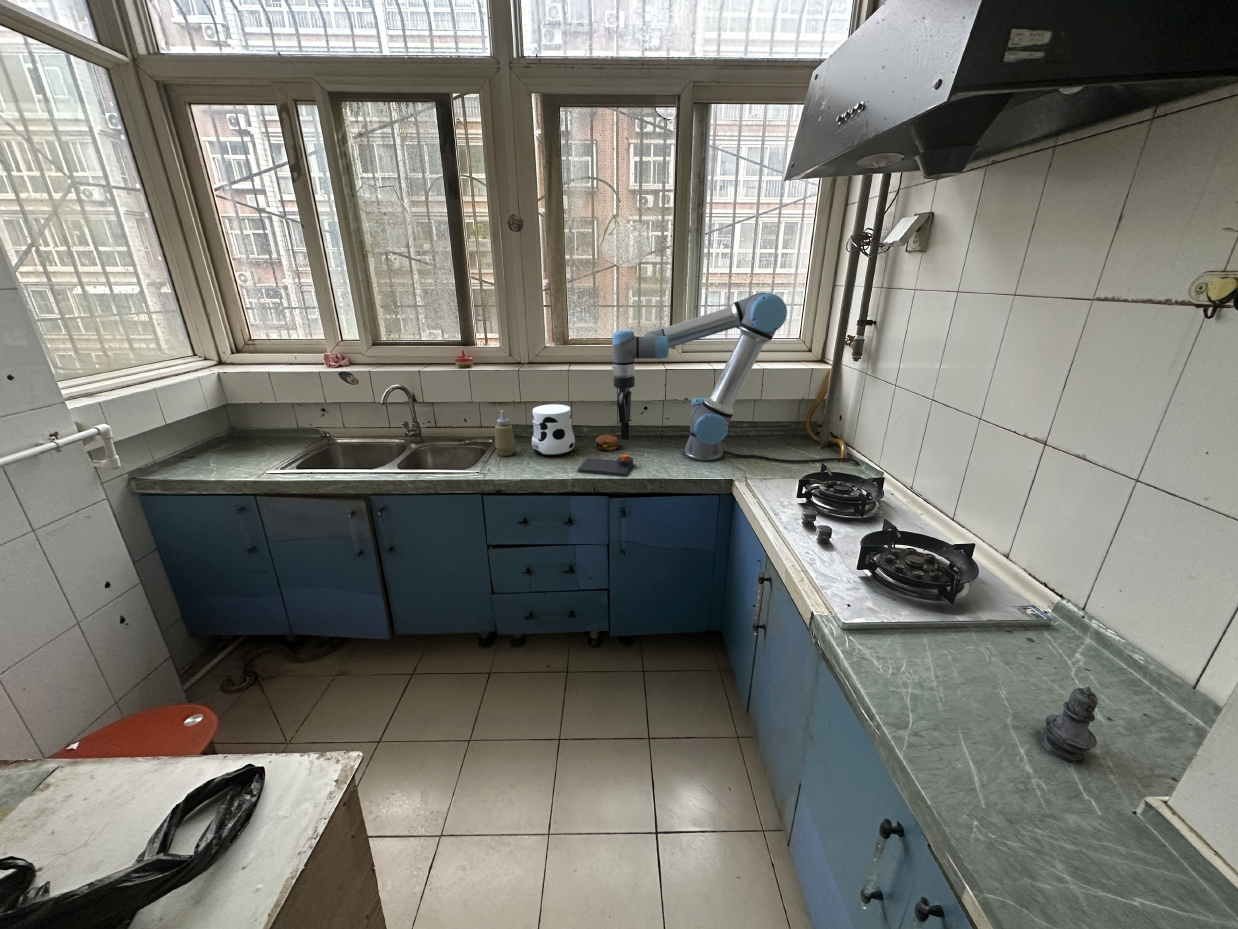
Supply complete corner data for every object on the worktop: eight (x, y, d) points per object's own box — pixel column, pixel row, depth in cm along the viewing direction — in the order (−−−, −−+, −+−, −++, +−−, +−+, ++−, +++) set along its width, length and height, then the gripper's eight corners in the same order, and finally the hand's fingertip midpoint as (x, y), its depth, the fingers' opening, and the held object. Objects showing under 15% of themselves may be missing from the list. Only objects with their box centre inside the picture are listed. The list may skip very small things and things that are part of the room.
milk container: (579, 445, 211) (578, 404, 204) (568, 460, 195) (566, 415, 188) (540, 443, 214) (537, 402, 207) (526, 457, 198) (523, 413, 191)
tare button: (630, 458, 188) (630, 454, 187) (628, 461, 185) (628, 457, 185) (622, 458, 189) (622, 453, 188) (620, 460, 186) (620, 456, 185)
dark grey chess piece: (1047, 758, 74) (1072, 696, 70) (1032, 726, 79) (1055, 667, 75) (1096, 771, 72) (1126, 708, 68) (1078, 738, 77) (1104, 677, 73)
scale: (634, 464, 190) (634, 456, 189) (626, 476, 179) (626, 468, 178) (588, 460, 194) (588, 453, 193) (578, 472, 183) (577, 464, 182)
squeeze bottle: (519, 454, 201) (515, 411, 195) (500, 458, 197) (496, 414, 190) (511, 449, 207) (507, 407, 201) (493, 453, 203) (488, 410, 197)
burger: (613, 442, 214) (613, 432, 213) (622, 449, 206) (622, 438, 205) (592, 445, 211) (591, 435, 209) (600, 452, 203) (600, 441, 201)
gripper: (618, 372, 183) (619, 433, 191) (609, 379, 171) (611, 444, 180) (638, 372, 181) (638, 434, 190) (630, 379, 169) (631, 445, 178)
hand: (625, 438), depth 185 cm, fingers closed
